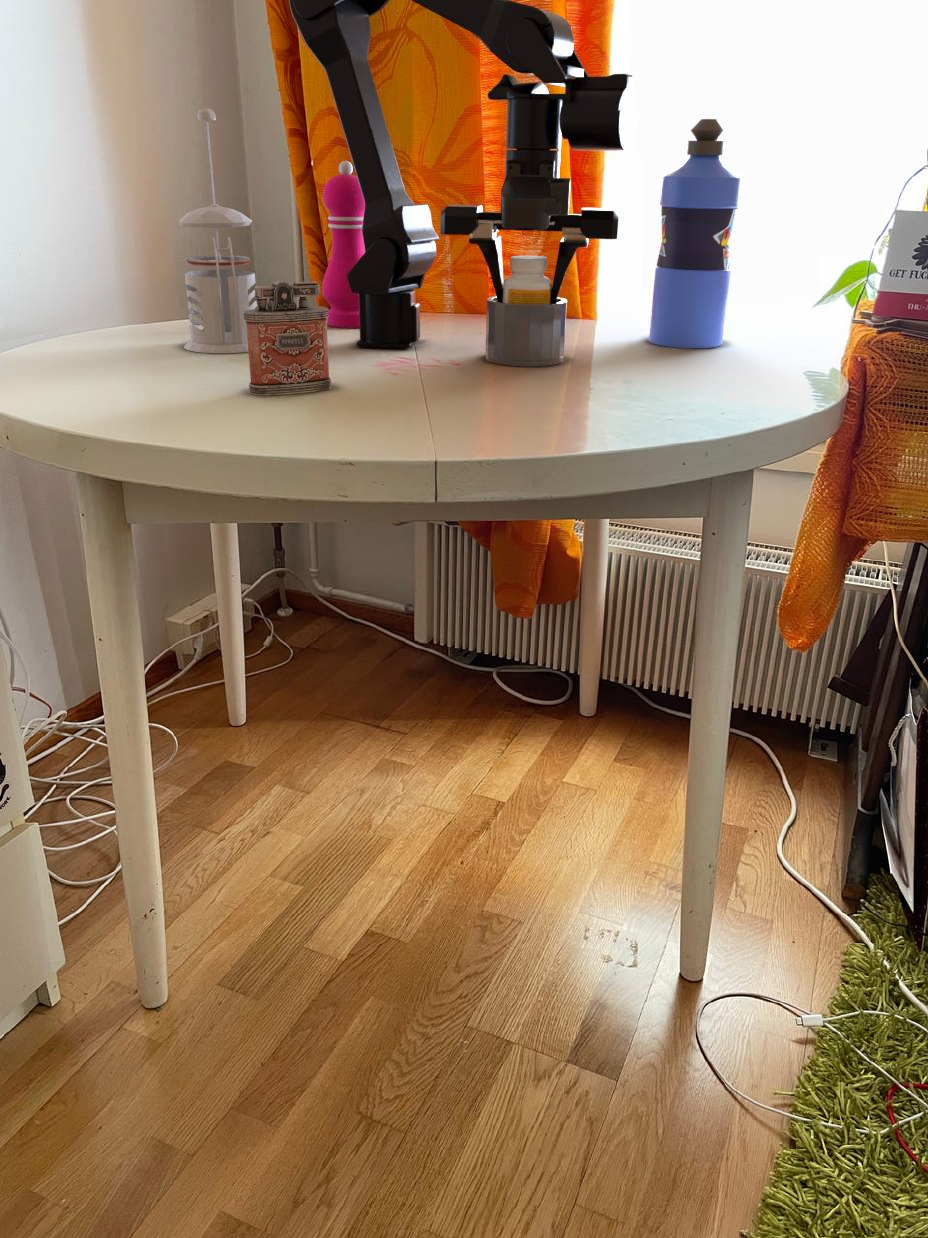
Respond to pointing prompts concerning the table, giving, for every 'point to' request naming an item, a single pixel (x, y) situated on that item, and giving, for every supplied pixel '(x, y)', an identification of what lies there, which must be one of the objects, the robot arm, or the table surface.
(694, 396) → the table surface
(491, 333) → the grey cylindrical cup
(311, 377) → the lighter
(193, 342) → the french press
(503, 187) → the robot arm
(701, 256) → the water bottle
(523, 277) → the supplement bottle
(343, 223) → the pepper mill
